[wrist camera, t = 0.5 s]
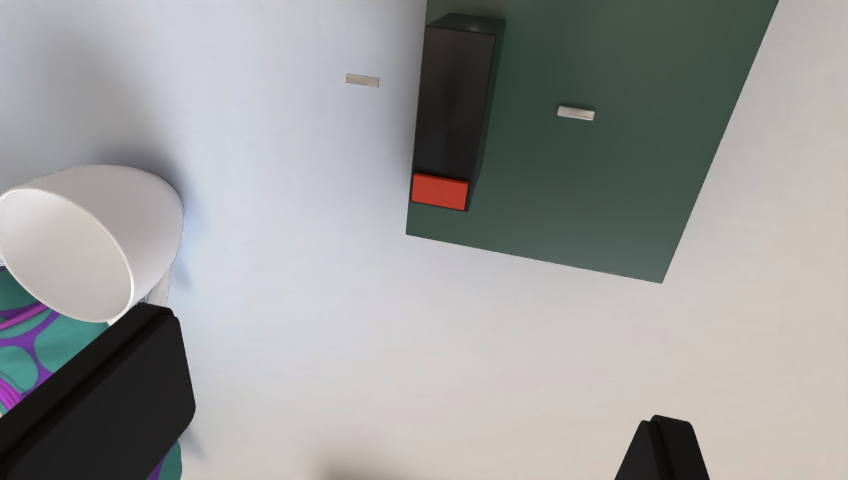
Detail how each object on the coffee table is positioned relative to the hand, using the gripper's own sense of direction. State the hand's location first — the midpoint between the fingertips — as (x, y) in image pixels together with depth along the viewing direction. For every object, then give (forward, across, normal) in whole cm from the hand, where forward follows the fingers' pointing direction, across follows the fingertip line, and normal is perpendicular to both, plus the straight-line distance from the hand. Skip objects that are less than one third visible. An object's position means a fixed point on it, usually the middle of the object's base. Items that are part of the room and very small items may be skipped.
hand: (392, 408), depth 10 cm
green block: (+17, -2, -3) cm, 17 cm away
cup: (+17, +19, +8) cm, 27 cm away
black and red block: (+14, +1, -3) cm, 14 cm away
